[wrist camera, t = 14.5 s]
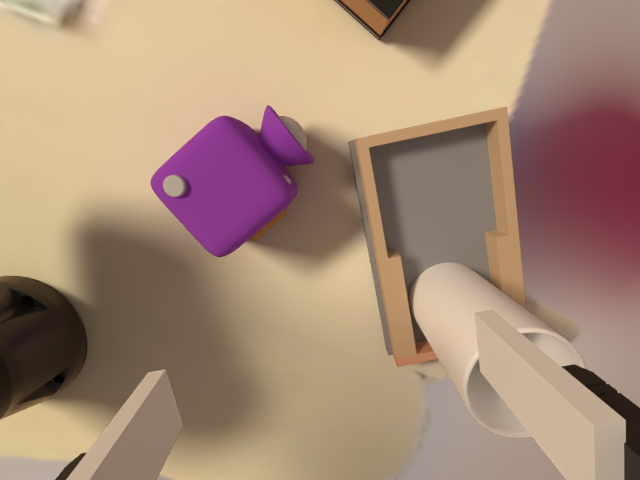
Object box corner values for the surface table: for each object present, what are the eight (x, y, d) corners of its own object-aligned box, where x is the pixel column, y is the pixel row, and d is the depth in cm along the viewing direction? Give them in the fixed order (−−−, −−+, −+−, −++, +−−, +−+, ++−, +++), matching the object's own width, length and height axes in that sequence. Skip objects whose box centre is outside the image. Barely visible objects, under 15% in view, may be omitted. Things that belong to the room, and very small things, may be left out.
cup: (396, 316, 41) (442, 414, 25) (429, 250, 39) (501, 310, 24) (462, 343, 41) (547, 454, 26) (497, 279, 40) (611, 356, 24)
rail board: (386, 348, 43) (392, 367, 39) (348, 141, 38) (351, 140, 34) (514, 325, 43) (534, 341, 39) (492, 111, 38) (512, 105, 34)
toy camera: (332, 154, 39) (336, 152, 29) (254, 251, 41) (232, 280, 31) (251, 84, 37) (225, 58, 28) (174, 189, 40) (125, 199, 30)
